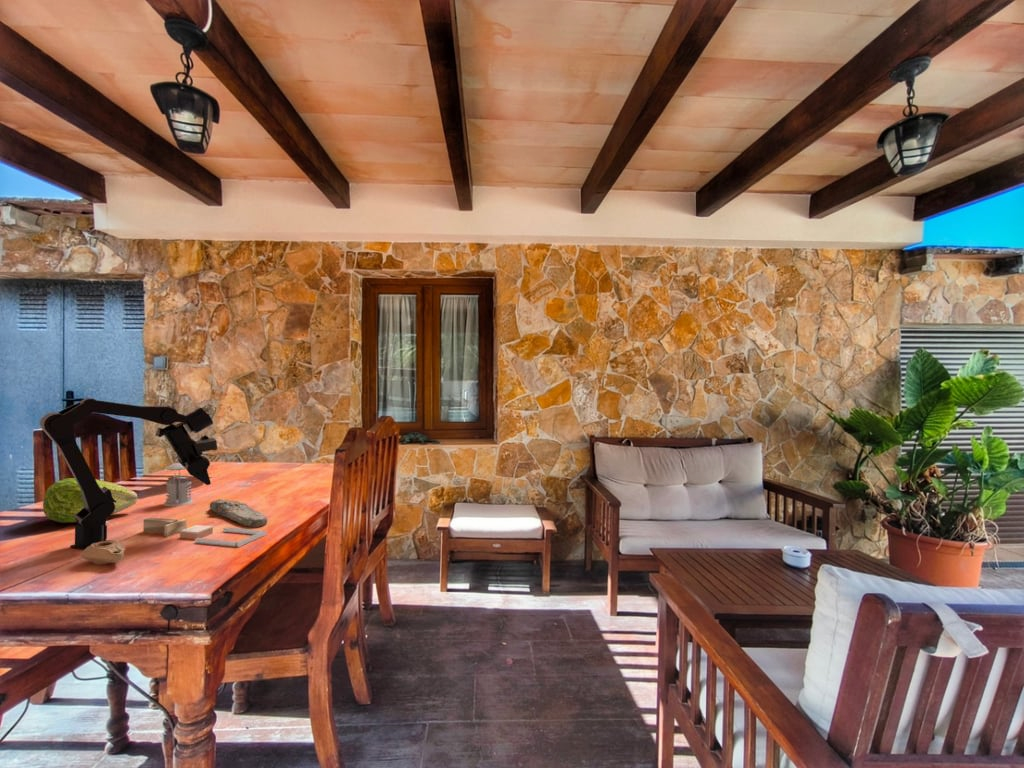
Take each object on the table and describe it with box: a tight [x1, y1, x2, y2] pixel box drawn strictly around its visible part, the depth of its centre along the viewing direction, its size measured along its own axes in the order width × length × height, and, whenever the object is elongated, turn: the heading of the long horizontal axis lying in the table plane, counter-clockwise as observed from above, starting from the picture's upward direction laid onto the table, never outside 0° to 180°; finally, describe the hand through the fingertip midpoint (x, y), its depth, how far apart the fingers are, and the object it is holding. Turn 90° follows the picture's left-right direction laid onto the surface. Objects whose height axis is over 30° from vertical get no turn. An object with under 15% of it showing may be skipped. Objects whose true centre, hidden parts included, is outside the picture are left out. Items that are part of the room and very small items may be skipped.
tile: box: [179, 524, 214, 540], centre depth 154 cm, size 6×6×2 cm
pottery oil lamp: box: [79, 539, 126, 566], centre depth 130 cm, size 9×12×7 cm
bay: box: [194, 526, 267, 548], centre depth 151 cm, size 12×14×1 cm
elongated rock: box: [209, 499, 268, 528], centre depth 175 cm, size 35×5×10 cm
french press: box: [162, 461, 194, 507], centre depth 190 cm, size 10×12×25 cm
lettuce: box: [42, 477, 138, 524], centre depth 169 cm, size 17×24×14 cm
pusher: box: [142, 516, 188, 538], centre depth 156 cm, size 7×11×4 cm, turn 79°
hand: (205, 481), depth 166 cm, fingers open, 9 cm apart
